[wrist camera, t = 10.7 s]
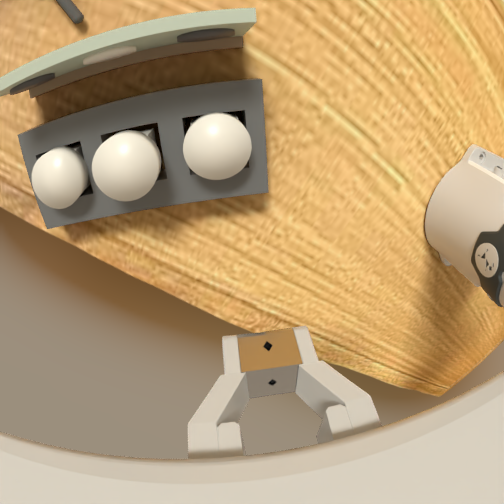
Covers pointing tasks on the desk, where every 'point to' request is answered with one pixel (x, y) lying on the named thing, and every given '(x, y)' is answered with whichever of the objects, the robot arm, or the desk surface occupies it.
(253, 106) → the button board
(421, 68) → the desk surface
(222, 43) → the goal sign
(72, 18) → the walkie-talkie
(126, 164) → the button middle
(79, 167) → the button
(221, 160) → the button
